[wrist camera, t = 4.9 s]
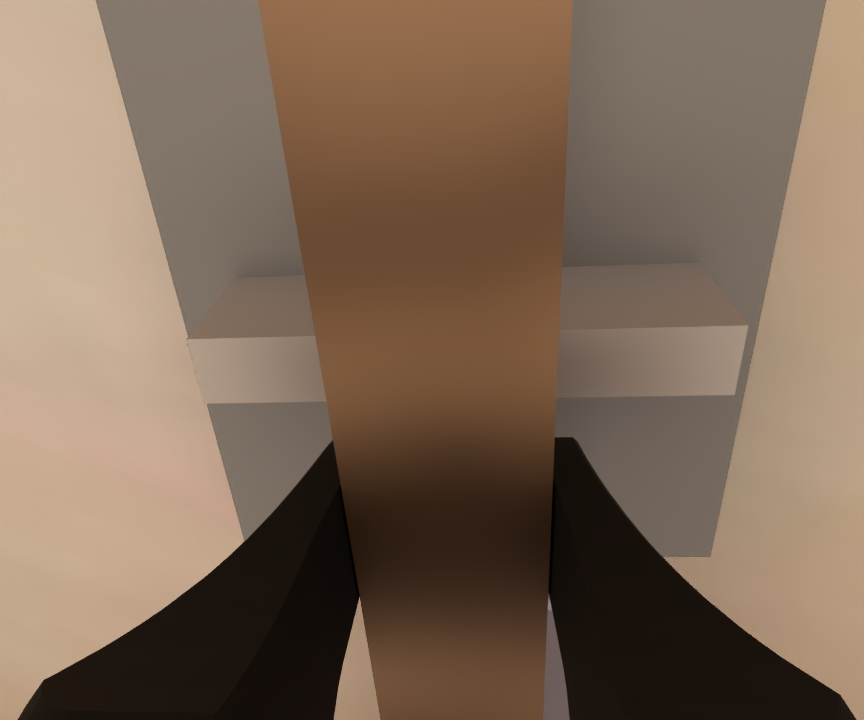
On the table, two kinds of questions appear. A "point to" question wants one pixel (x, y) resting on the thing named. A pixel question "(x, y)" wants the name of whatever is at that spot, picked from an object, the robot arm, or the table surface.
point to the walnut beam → (436, 321)
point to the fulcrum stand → (582, 236)
